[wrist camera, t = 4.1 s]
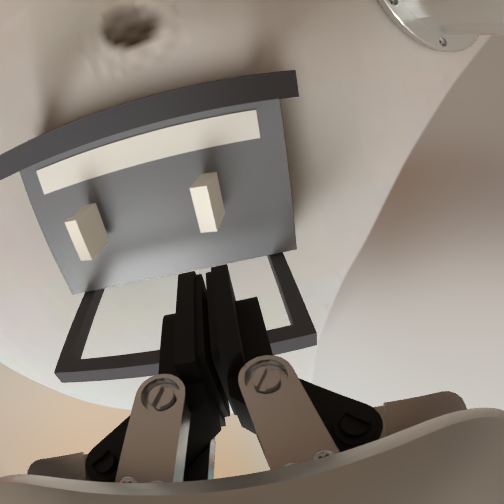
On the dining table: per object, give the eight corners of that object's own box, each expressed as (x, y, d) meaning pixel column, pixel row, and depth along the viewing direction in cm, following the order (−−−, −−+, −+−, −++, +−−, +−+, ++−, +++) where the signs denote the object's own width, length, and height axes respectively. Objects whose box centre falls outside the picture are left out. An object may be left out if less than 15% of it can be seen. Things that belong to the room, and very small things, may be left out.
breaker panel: (269, 92, 20) (278, 93, 17) (287, 230, 25) (297, 249, 23) (36, 156, 19) (17, 167, 16) (82, 273, 25) (72, 295, 22)
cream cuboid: (216, 171, 18) (206, 185, 16) (225, 213, 20) (217, 231, 18) (201, 174, 19) (189, 188, 17) (210, 214, 20) (200, 232, 18)
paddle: (95, 202, 18) (75, 220, 16) (109, 240, 20) (92, 260, 18) (84, 205, 18) (64, 222, 16) (98, 241, 20) (80, 260, 18)
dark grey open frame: (251, 76, 19) (295, 70, 10) (276, 246, 26) (316, 344, 17) (42, 136, 18) (-51, 185, 9) (97, 283, 25) (62, 382, 16)
